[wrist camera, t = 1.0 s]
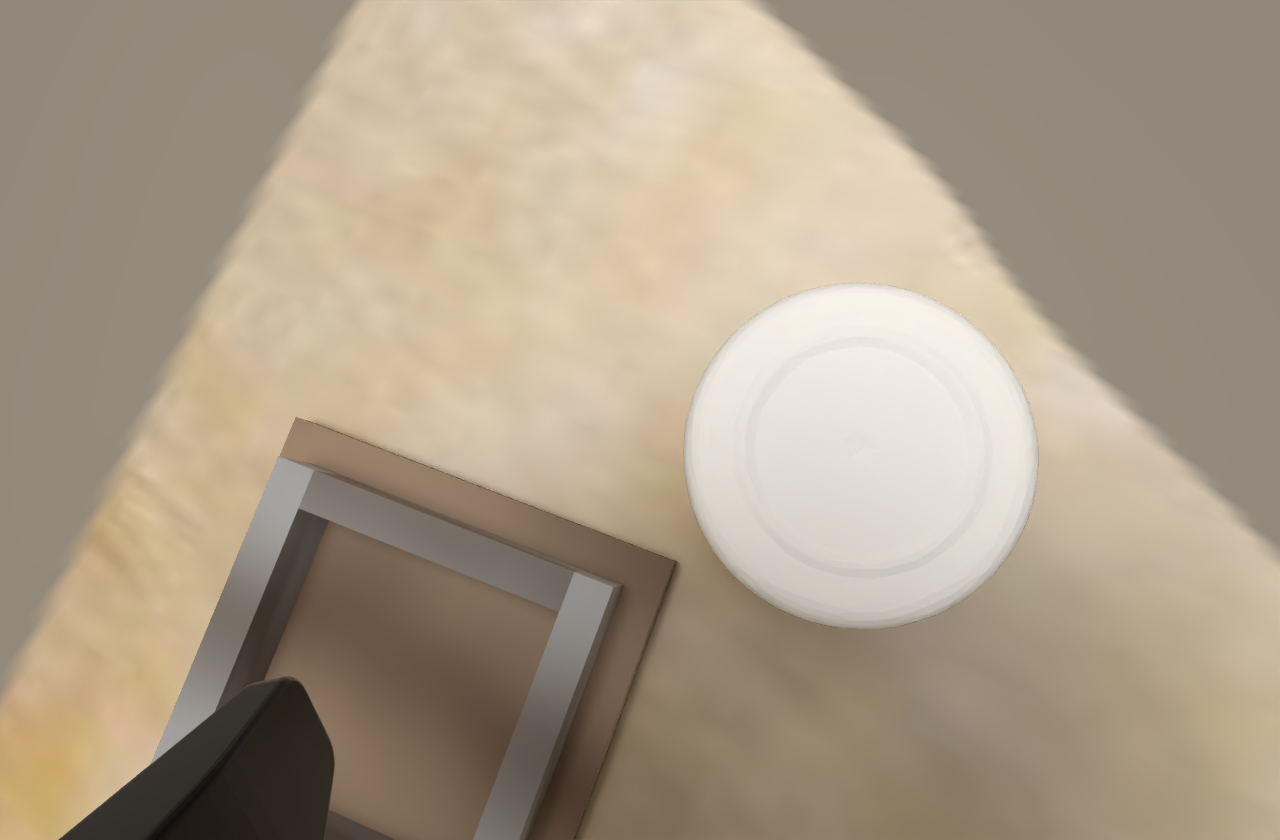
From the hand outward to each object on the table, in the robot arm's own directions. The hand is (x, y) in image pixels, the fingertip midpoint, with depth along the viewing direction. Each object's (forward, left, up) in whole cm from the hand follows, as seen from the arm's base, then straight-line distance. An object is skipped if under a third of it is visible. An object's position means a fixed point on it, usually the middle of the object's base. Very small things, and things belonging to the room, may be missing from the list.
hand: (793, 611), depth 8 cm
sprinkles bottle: (+2, 0, -17) cm, 17 cm away
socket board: (-6, +8, -17) cm, 20 cm away
